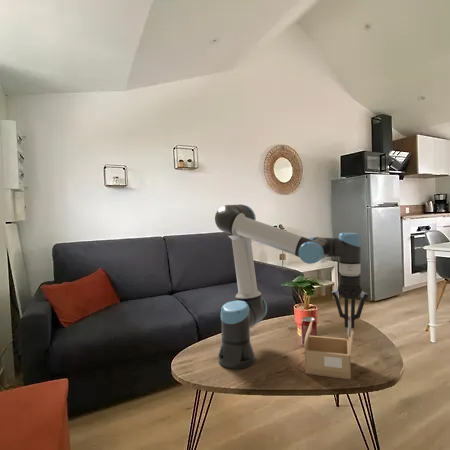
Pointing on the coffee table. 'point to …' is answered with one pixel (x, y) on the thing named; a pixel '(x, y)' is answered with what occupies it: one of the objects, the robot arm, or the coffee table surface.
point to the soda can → (305, 325)
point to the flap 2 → (351, 340)
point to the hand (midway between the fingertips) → (349, 335)
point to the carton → (328, 357)
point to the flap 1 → (308, 333)
